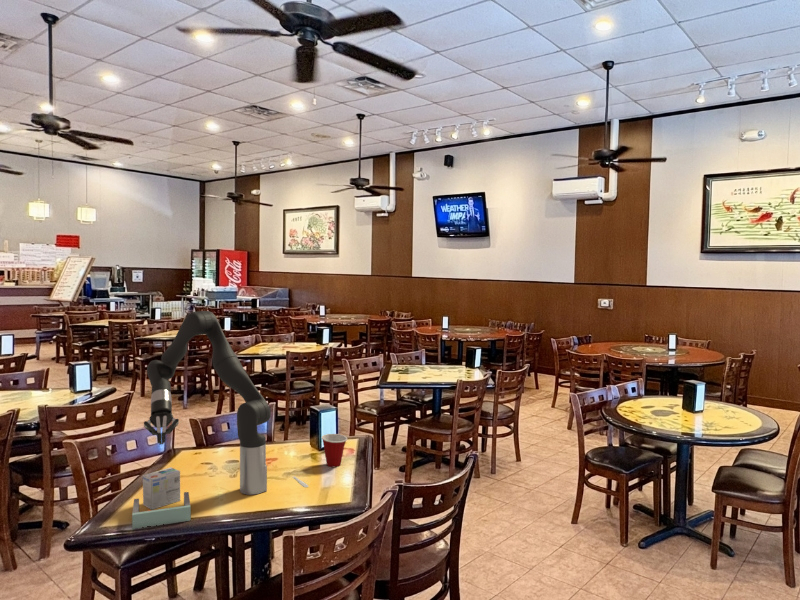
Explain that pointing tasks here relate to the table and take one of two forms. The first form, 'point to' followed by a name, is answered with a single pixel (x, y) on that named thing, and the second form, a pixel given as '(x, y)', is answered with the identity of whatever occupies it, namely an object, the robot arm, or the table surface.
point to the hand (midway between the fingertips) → (161, 443)
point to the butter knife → (301, 482)
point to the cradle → (161, 514)
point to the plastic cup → (333, 448)
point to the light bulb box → (161, 488)
